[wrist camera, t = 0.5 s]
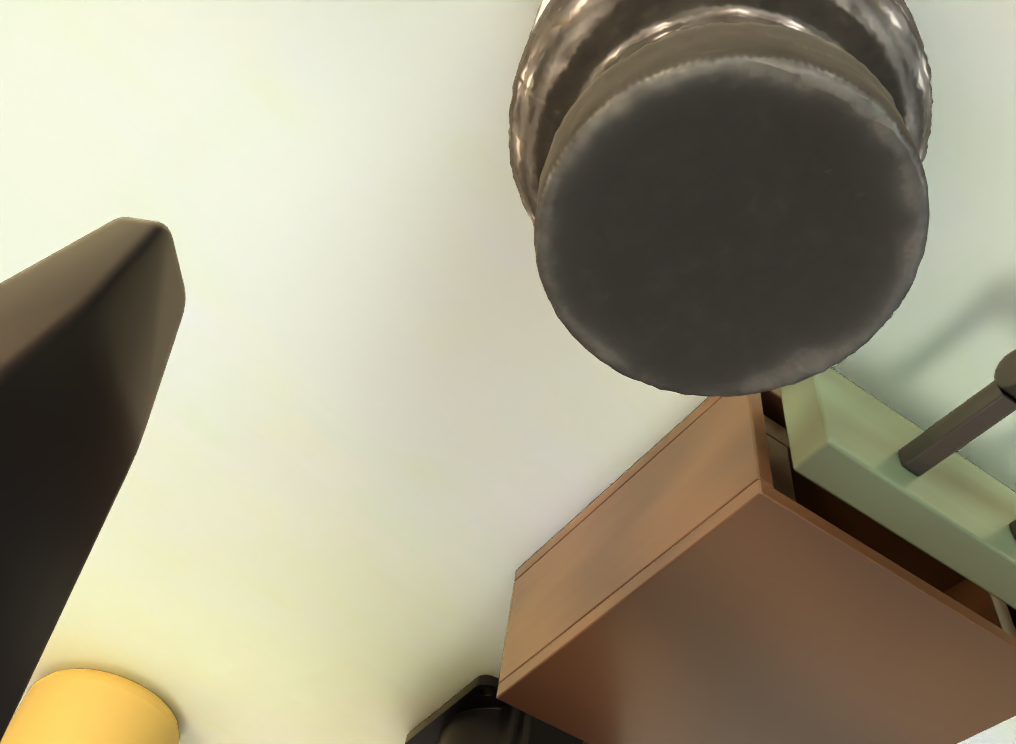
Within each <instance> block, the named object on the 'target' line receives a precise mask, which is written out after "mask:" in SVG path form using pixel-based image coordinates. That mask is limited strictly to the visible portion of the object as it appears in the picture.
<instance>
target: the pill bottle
mask: <svg viewBox="0 0 1016 744" xmlns="http://www.w3.org/2000/svg"><path fill="white" fill-rule="evenodd" d="M930 80H931V68H930V66H929V64H928V59H927V56H926V54H925V52H924V45H923V43H922V40H921V37H920V35H919V32H918V29H917V27H916V24H915V21H914V19H913V16H912V14H911V12H910V10H909V9H908V7H907V6H906V3H905V2H904V0H542V2H541V4H540V7H539V9H538V12H537V16H536V19H535V22H534V26H533V28H532V31H531V33H530V36H529V40H528V42H527V45H526V47H525V49H524V52H523V55H522V58H521V60H520V63H519V67H518V70H517V74H516V77H515V80H514V83H513V96H512V101H511V104H510V110H509V123H510V128H509V149H510V164H511V167H512V171H513V178H514V180H515V183H516V186H517V188H518V191H519V193H520V197H521V200H522V203H523V205H524V207H525V209H526V211H527V213H528V215H529V216H530V218H531V220H532V222H533V225H534V245H535V251H536V263H537V267H538V271H539V276H540V279H541V281H542V284H543V287H544V290H545V292H546V294H547V297H548V299H549V300H550V302H551V304H552V306H553V308H554V310H555V313H556V315H557V317H558V318H559V319H560V320H561V322H562V323H563V324H564V325H565V327H566V328H567V329H568V331H569V332H570V333H571V335H572V336H573V337H574V338H576V339H577V340H578V341H579V342H580V344H581V345H582V346H583V347H584V348H586V349H587V350H588V351H589V352H590V353H592V354H593V355H594V356H595V357H597V358H598V359H599V360H600V361H602V362H604V363H605V364H607V365H609V366H610V367H611V368H613V369H614V370H615V371H617V372H619V373H621V374H622V375H625V376H627V377H629V378H632V379H635V380H638V381H641V382H643V383H646V384H648V385H652V386H654V387H656V388H658V389H660V390H668V391H673V392H677V393H680V394H684V395H697V396H709V397H715V396H721V397H732V396H743V395H749V394H757V393H761V392H765V391H769V390H774V389H778V388H781V387H784V386H786V385H794V384H796V383H798V382H801V381H803V380H805V379H807V378H809V377H812V376H814V375H817V374H819V373H822V372H825V371H826V370H827V369H828V368H830V367H831V366H833V365H835V364H837V363H840V362H841V361H842V360H844V359H845V358H846V357H848V356H849V355H851V354H853V353H855V352H856V351H857V350H858V349H859V348H860V347H861V346H863V345H864V344H866V343H867V342H868V341H869V340H870V339H871V338H872V337H873V335H874V334H875V333H876V332H877V331H878V330H879V329H880V328H881V327H882V326H883V325H884V324H885V322H886V321H887V320H888V319H890V318H891V316H892V314H893V312H894V311H895V310H896V309H897V308H898V307H899V306H900V304H901V302H902V300H903V299H904V298H905V296H906V294H907V293H908V291H909V290H910V288H911V286H912V284H913V281H914V279H915V277H916V273H917V269H918V266H919V264H920V262H921V259H922V258H923V255H924V251H925V246H926V241H927V234H928V225H929V200H928V185H927V181H926V177H925V172H924V169H923V165H922V162H923V160H924V158H925V156H926V153H927V148H928V145H927V142H928V138H929V135H930V133H931V130H930V128H931V118H932V113H931V112H932V111H931V108H932V104H933V99H932V88H931V84H930Z"/></svg>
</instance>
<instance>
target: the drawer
mask: <svg viewBox="0 0 1016 744" xmlns="http://www.w3.org/2000/svg"><path fill="white" fill-rule="evenodd" d="M994 379H995V380H994V381H993V382H992V383H990V384H989V385H988V386H986V387H985V388H983V389H982V390H981V391H979V392H978V393H977V394H975V395H974V396H972V397H971V398H970V399H968V400H967V401H966V402H964V403H963V404H961V405H960V406H959V407H957V408H956V409H955V410H953V411H952V412H950V413H949V414H948V415H946V416H945V417H943V418H942V419H941V420H939V421H938V422H937V423H935V424H934V425H932V426H931V427H930V428H928V429H927V430H926V431H923V430H922V429H920V428H919V427H918V426H916V425H915V424H913V423H912V422H910V421H909V420H907V419H906V418H904V417H903V416H901V415H900V414H898V413H897V412H895V411H894V410H892V409H891V408H889V407H888V406H886V405H885V404H883V403H882V402H880V401H879V400H878V399H876V398H875V397H873V396H872V395H870V394H869V393H867V392H866V391H864V390H863V389H861V388H860V387H858V386H857V385H855V384H854V383H852V382H851V381H849V380H848V379H846V378H845V377H843V376H842V375H840V374H839V373H837V372H836V371H835V370H833V369H832V368H828V369H827V370H826V371H825V372H822V373H819V374H817V375H814V376H812V377H809V378H807V379H805V380H803V381H801V382H798V383H796V384H794V385H786V386H784V387H781V388H780V392H781V398H782V405H783V411H784V417H785V423H786V429H785V428H784V427H782V426H780V425H779V424H777V423H776V422H774V421H773V420H771V419H769V418H768V417H766V416H765V415H764V422H765V429H766V437H767V444H768V451H769V458H770V466H771V473H772V480H773V488H774V489H776V490H777V491H779V492H781V493H782V494H784V495H785V496H787V497H789V498H790V499H792V500H793V501H795V502H797V503H798V504H800V505H802V506H803V507H805V508H806V509H808V510H810V511H811V512H813V513H815V514H816V515H818V516H819V517H821V518H823V519H824V520H826V521H827V522H829V523H831V524H832V525H834V526H836V527H837V528H839V529H840V530H842V531H844V532H845V533H847V534H849V535H850V536H852V537H853V538H855V539H857V540H858V541H860V542H862V543H863V544H865V545H866V546H868V547H870V548H871V549H873V550H874V551H876V552H878V553H879V554H881V555H883V556H884V557H886V558H887V559H889V560H891V561H892V562H894V563H896V564H897V565H899V566H900V567H902V568H904V569H905V570H907V571H908V572H910V573H912V574H913V575H915V576H917V577H918V578H920V579H921V580H923V581H925V582H926V583H928V584H930V585H931V586H933V587H934V588H936V589H938V590H939V591H941V592H942V593H944V594H946V595H947V596H949V597H951V598H952V599H954V600H955V601H957V602H959V603H960V604H962V605H964V606H965V607H967V608H968V609H970V610H972V611H973V612H975V613H976V614H978V615H980V616H981V617H983V618H985V619H986V620H988V621H989V622H991V623H993V624H994V625H996V626H998V627H999V628H1001V629H1002V630H1004V631H1006V632H1007V633H1009V634H1010V635H1012V636H1014V637H1015V638H1016V629H1015V627H1014V624H1013V621H1012V618H1011V616H1010V613H1009V610H1008V607H1007V605H1006V604H1008V605H1009V606H1011V607H1012V608H1014V609H1016V493H1015V492H1014V491H1012V490H1011V489H1009V488H1008V487H1006V486H1005V485H1003V484H1002V483H1000V482H999V481H998V480H996V479H995V478H993V477H992V476H990V475H989V474H987V473H986V472H984V471H983V470H981V469H980V468H978V467H977V466H975V465H974V464H972V463H971V462H969V461H968V460H966V459H965V458H963V457H962V456H960V455H959V454H958V453H956V451H957V450H959V449H960V448H962V447H963V446H965V445H966V444H967V443H969V442H970V441H972V440H973V439H975V438H976V437H977V436H979V435H980V434H982V433H983V432H985V431H986V430H988V429H989V428H990V427H992V426H993V425H995V424H996V423H998V422H999V421H1001V420H1002V419H1003V418H1005V417H1006V416H1008V415H1009V414H1011V413H1012V412H1014V411H1015V410H1016V350H1013V351H1012V352H1010V353H1009V354H1007V355H1006V356H1005V357H1004V358H1003V359H1002V360H1001V361H1000V362H999V364H998V366H997V368H996V370H995V374H994Z"/></svg>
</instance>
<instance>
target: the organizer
mask: <svg viewBox="0 0 1016 744" xmlns="http://www.w3.org/2000/svg"><path fill="white" fill-rule="evenodd" d="M764 415H765V416H766V417H768V418H769V419H771V420H773V421H774V422H776V423H777V424H779V425H780V426H782V427H784V428H785V429H786V423H785V417H784V411H783V405H782V398H781V392H780V388H778V389H774V390H769V391H765V392H761V393H757V394H749V395H743V396H732V397H721V396H715V397H709V398H707V399H706V400H705V401H704V402H703V403H702V404H701V405H700V406H699V407H697V408H696V409H695V410H694V411H693V412H692V413H691V414H690V415H689V416H687V417H686V418H685V419H684V420H683V421H682V422H681V423H680V424H679V425H677V426H676V427H675V428H674V429H673V430H672V431H671V432H670V433H669V434H667V435H666V436H665V437H664V438H663V439H662V440H661V441H660V442H659V443H657V444H656V445H655V446H654V447H653V448H652V449H651V450H650V451H649V452H647V453H646V454H645V455H644V456H643V457H642V458H641V459H640V460H639V461H638V462H636V463H635V464H634V465H633V466H632V467H631V468H630V469H629V470H628V471H626V472H625V473H624V474H623V475H622V476H621V477H620V478H619V479H618V480H616V481H615V482H614V483H613V484H612V485H611V486H610V487H609V488H608V489H606V490H605V491H604V492H603V493H602V494H601V495H600V496H599V497H598V498H596V499H595V500H594V501H593V502H592V503H591V504H590V505H589V506H588V507H586V508H585V509H584V510H583V511H582V512H581V513H580V514H579V515H578V516H576V517H575V518H574V519H573V520H572V521H571V522H570V523H569V524H568V525H566V526H565V527H564V528H563V529H562V530H561V531H560V532H559V533H558V534H556V535H555V536H554V537H553V538H552V539H551V540H550V541H549V542H548V543H546V544H545V545H544V546H543V547H542V548H541V549H540V550H539V551H538V552H536V553H535V554H534V555H533V556H532V557H531V558H530V559H529V560H528V561H526V562H525V563H524V564H523V565H522V566H521V567H520V568H519V569H518V570H516V573H515V580H514V581H515V582H514V586H513V593H512V599H511V606H510V612H509V619H508V625H507V632H506V638H505V645H504V651H503V658H502V664H501V671H500V677H499V685H498V690H497V699H499V700H501V701H503V702H505V703H507V704H509V705H511V706H513V707H515V708H517V709H519V710H522V711H524V712H526V713H528V714H530V715H532V716H534V717H536V718H538V719H540V720H542V721H544V722H546V723H548V724H550V725H552V726H554V727H556V728H558V729H560V730H562V731H564V732H566V733H568V734H570V735H572V736H574V737H576V738H578V739H580V740H582V741H585V742H587V743H589V744H957V743H959V742H961V741H963V740H965V739H968V738H970V737H972V736H974V735H976V734H978V733H980V732H982V731H984V730H987V729H989V728H991V727H993V726H995V725H997V724H999V723H1001V722H1003V721H1005V720H1008V719H1010V718H1012V717H1014V716H1016V638H1015V637H1014V636H1012V635H1010V634H1009V633H1007V632H1006V631H1004V630H1002V629H1001V628H999V627H998V626H996V625H994V624H993V623H991V622H989V621H988V620H986V619H985V618H983V617H981V616H980V615H978V614H976V613H975V612H973V611H972V610H970V609H968V608H967V607H965V606H964V605H962V604H960V603H959V602H957V601H955V600H954V599H952V598H951V597H949V596H947V595H946V594H944V593H942V592H941V591H939V590H938V589H936V588H934V587H933V586H931V585H930V584H928V583H926V582H925V581H923V580H921V579H920V578H918V577H917V576H915V575H913V574H912V573H910V572H908V571H907V570H905V569H904V568H902V567H900V566H899V565H897V564H896V563H894V562H892V561H891V560H889V559H887V558H886V557H884V556H883V555H881V554H879V553H878V552H876V551H874V550H873V549H871V548H870V547H868V546H866V545H865V544H863V543H862V542H860V541H858V540H857V539H855V538H853V537H852V536H850V535H849V534H847V533H845V532H844V531H842V530H840V529H839V528H837V527H836V526H834V525H832V524H831V523H829V522H827V521H826V520H824V519H823V518H821V517H819V516H818V515H816V514H815V513H813V512H811V511H810V510H808V509H806V508H805V507H803V506H802V505H800V504H798V503H797V502H795V501H793V500H792V499H790V498H789V497H787V496H785V495H784V494H782V493H781V492H779V491H777V490H776V489H774V488H773V480H772V473H771V466H770V458H769V451H768V444H767V437H766V429H765V422H764ZM1006 605H1007V607H1008V610H1009V613H1010V616H1011V618H1012V621H1013V624H1014V627H1015V629H1016V609H1014V608H1012V607H1011V606H1009V605H1008V604H1006Z"/></svg>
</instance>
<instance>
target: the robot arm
mask: <svg viewBox="0 0 1016 744" xmlns="http://www.w3.org/2000/svg"><path fill="white" fill-rule="evenodd" d="M184 307H185V288H184V283H183V279H182V275H181V271H180V267H179V262H178V258H177V254H176V250H175V246H174V242H173V238H172V235H171V232H170V230H169V229H168V227H167V226H165V225H164V224H162V223H160V222H156V221H150V220H143V219H136V218H130V217H121V218H118V219H115V220H113V221H111V222H109V223H107V224H106V225H104V226H102V227H100V228H99V229H97V230H95V231H93V232H91V233H90V234H88V235H86V236H84V237H82V238H81V239H79V240H77V241H75V242H73V243H72V244H70V245H68V246H66V247H65V248H63V249H61V250H59V251H57V252H56V253H54V254H52V255H50V256H48V257H47V258H45V259H43V260H41V261H39V262H38V263H36V264H34V265H32V266H30V267H29V268H27V269H25V270H23V271H22V272H20V273H18V274H16V275H14V276H13V277H11V278H9V279H7V280H5V281H4V282H2V283H0V742H1V740H2V738H3V736H4V734H5V732H6V729H7V727H8V725H9V723H10V721H11V719H12V717H13V715H14V712H15V710H16V708H17V706H18V704H19V702H20V700H21V698H22V696H23V693H24V691H25V689H26V687H27V685H28V683H29V681H30V679H31V676H32V674H33V672H34V670H35V668H36V666H37V664H38V662H39V660H40V657H41V655H42V653H43V651H44V649H45V647H46V645H47V643H48V640H49V638H50V636H51V634H52V632H53V630H54V628H55V626H56V624H57V621H58V619H59V617H60V615H61V613H62V611H63V609H64V607H65V604H66V602H67V600H68V598H69V596H70V594H71V592H72V590H73V588H74V585H75V583H76V581H77V579H78V577H79V575H80V573H81V571H82V568H83V566H84V564H85V562H86V560H87V558H88V556H89V554H90V552H91V549H92V547H93V545H94V543H95V541H96V539H97V537H98V535H99V532H100V530H101V528H102V526H103V524H104V522H105V520H106V518H107V516H108V513H109V511H110V509H111V507H112V505H113V503H114V501H115V499H116V497H117V494H118V492H119V490H120V488H121V486H122V484H123V482H124V480H125V477H126V475H127V473H128V471H129V469H130V466H131V464H132V462H133V460H134V457H135V455H136V453H137V450H138V448H139V445H140V442H141V439H142V437H143V434H144V431H145V428H146V425H147V422H148V419H149V416H150V413H151V410H152V407H153V404H154V401H155V398H156V395H157V392H158V389H159V386H160V383H161V380H162V377H163V374H164V371H165V368H166V365H167V362H168V359H169V356H170V353H171V350H172V347H173V344H174V341H175V338H176V334H177V331H178V328H179V325H180V322H181V319H182V316H183V313H184ZM498 685H499V679H497V678H495V677H493V676H489V675H482V676H479V677H477V678H476V679H475V680H474V681H472V682H471V683H470V684H469V685H467V686H466V687H465V688H464V689H463V690H461V691H460V692H459V693H458V694H456V695H455V696H454V697H453V698H452V699H450V700H449V701H448V702H447V703H445V704H444V705H443V706H442V707H441V708H439V709H438V710H437V711H436V712H434V713H433V714H432V715H431V716H430V717H428V718H427V719H426V720H425V721H423V722H422V723H421V724H420V725H419V726H417V727H416V728H415V729H414V730H412V731H411V732H410V733H409V734H408V735H407V738H406V742H405V744H589V743H587V742H585V741H582V740H580V739H578V738H576V737H574V736H572V735H570V734H568V733H566V732H564V731H562V730H560V729H558V728H556V727H554V726H552V725H550V724H548V723H546V722H544V721H542V720H540V719H538V718H536V717H534V716H532V715H530V714H528V713H526V712H524V711H522V710H519V709H517V708H515V707H513V706H511V705H509V704H507V703H505V702H503V701H501V700H499V699H497V690H498Z"/></svg>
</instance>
